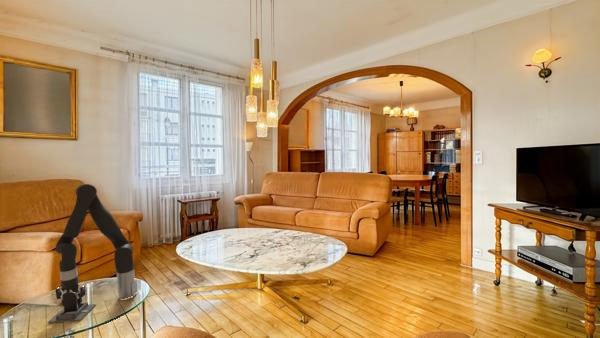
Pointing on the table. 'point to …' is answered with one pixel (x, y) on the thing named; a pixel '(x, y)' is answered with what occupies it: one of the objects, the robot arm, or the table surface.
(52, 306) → the table surface
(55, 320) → the dock
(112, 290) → the table surface
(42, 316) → the table surface
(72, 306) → the battery
